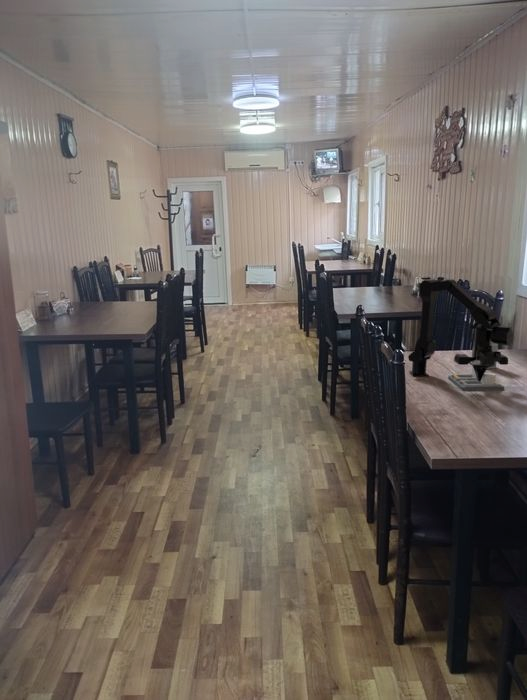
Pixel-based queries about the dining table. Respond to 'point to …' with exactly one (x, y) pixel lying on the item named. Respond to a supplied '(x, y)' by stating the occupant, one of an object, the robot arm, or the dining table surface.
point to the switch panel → (472, 383)
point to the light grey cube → (474, 373)
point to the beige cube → (488, 378)
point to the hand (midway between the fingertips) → (479, 381)
